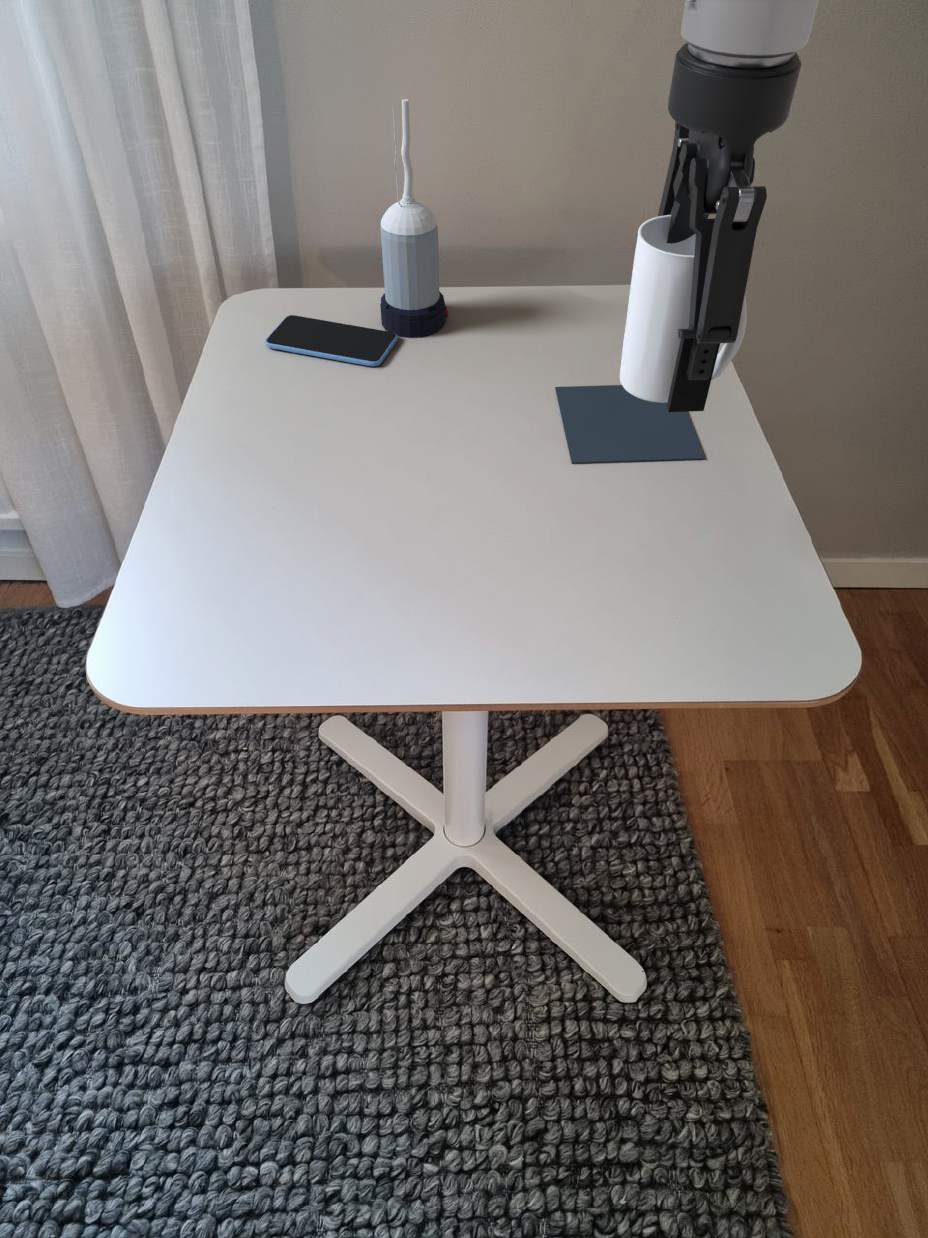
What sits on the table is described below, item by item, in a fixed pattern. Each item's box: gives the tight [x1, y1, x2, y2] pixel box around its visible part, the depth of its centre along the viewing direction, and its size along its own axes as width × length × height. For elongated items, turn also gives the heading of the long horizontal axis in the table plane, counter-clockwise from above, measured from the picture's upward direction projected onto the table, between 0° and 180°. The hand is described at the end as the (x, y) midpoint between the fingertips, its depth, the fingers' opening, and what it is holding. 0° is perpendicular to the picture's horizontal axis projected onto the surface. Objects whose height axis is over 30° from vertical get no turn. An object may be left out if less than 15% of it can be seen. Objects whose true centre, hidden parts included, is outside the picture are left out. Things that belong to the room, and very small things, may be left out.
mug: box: [619, 215, 748, 403], centre depth 65 cm, size 10×7×12 cm, turn 37°
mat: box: [554, 384, 706, 465], centre depth 95 cm, size 14×14×1 cm
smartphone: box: [265, 314, 398, 367], centre depth 106 cm, size 7×1×15 cm
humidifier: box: [379, 98, 449, 339], centre depth 101 cm, size 8×8×25 cm
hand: (672, 375), depth 69 cm, fingers closed on mug, 8 cm apart
